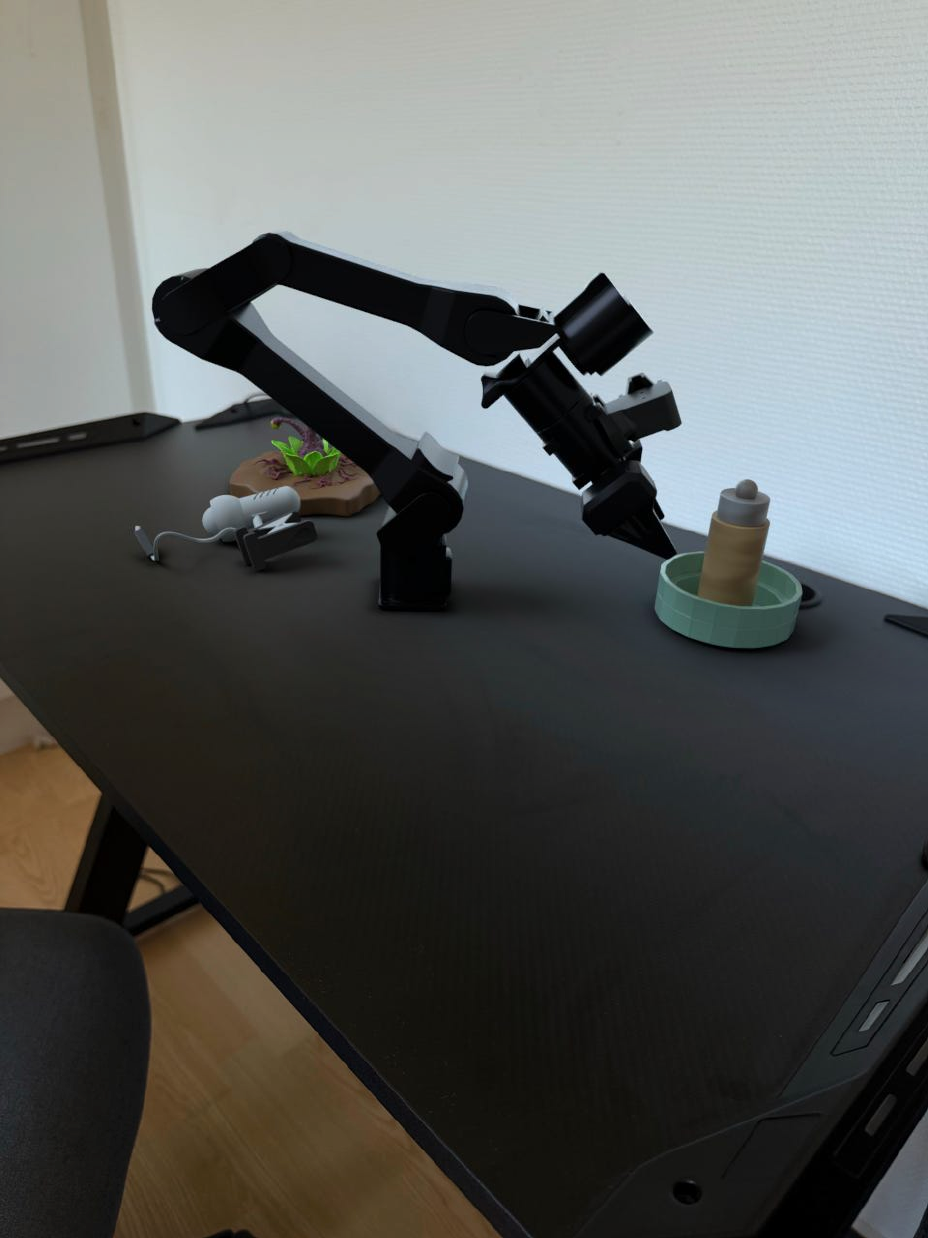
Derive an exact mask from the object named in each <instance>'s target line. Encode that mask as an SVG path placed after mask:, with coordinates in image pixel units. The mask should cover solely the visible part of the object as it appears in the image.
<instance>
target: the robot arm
mask: <svg viewBox="0 0 928 1238" xmlns="http://www.w3.org/2000/svg"><path fill="white" fill-rule="evenodd" d="M277 286H282V287H285V288H288V289H292V290H295V291H298V292H301V293H304V294H308V295H311V296H314V297H316V298H320V299H323V300H326V301H329V302H331V303H335V304H338V305H342V306H345V307H346V308H347V307H348V308H350V309H354V310H357V311H360V312H363V313H367V314H369V315H373V316H376V317H379V318H381V319H385V320H388V321H390V322H394V323H397V324H400V325H403V326H407V327H409V328H410V329H412V330H413V331H416V332H417V333H420V334H421V335H422V336H424V337H425V338H427V339H428V340H430V341H431V342H433V343H434V344H436V345H437V346H439V347H440V348H442V349H444V350H446V351H448V352H450V353H452V354H454V356H457V357H459V358H461V359H463V360H464V361H467V362H468V363H470V364H473V365H475V366H477V367H478V366H479V367H485V368H486V367H494V366H496V365H498V364H501V363H502V362H504V361H506V360H508V358H510V357H511V355H513V353H514V352H518V353H517V354H516V355H514V356H513V358H511V359H510V360H509V361H508V362H507V363H506V364H504V365H503V366H501V368H500V369H499V370H498V371H493V372H491V371H487V370H486V371H483V372H482V373H481V376H480V381H481V386H482V397H481V402H480V406H481V408H482V409H484V410H487V409H489V408H490V407H491V406H492V405H494V404H495V403H496V402H497V401H498V400H499V399H501V398H502V397H504V398H505V399H506V401H507V402H508V403H509V404H510V406H512V407H513V409H514V410H515V411H516V412H517V413H518V414H519V416H520V417H521V418H522V420H523V421H525V423H526V424H527V426H529V427H530V428H531V430H532V431H533V433H535V434H536V435H537V437H538V438H539V439H540V440H541V441H542V445H541V447H542V449H543V450H544V452H545V453H546V454H547V455H548V456H549V457H551V456H552V455H554V457H556V459H557V460H558V461H559V462H560V463H561V464H562V465H563V467H564V468H565V470H567V471H568V472H569V474H570V475H571V483H572V484H573V485H574V486H575V487H576V489H577V490H578V491H580V490H582V489H584V488H585V487H586V486H587V485H588V484H589V483H591V485H590V486H588V487H587V488H585V490H583V491H582V492H581V502H580V514H581V521H582V522H583V523H584V524H585V525H586V526H587V527H588V529H589V530H590V531H591V532H592V533H593V535H595V536H599V535H600V536H602V537H610V538H613V539H616V540H617V541H620V542H623V543H625V544H629V545H630V546H633V547H636V548H638V549H640V550H642V551H644V552H647V553H650V554H651V555H654V556H657V557H659V558H661V559H664V560H665V561H666V560H670V559H671V558H672V557H674V556H676V555H678V552H677V549H676V547H675V545H674V544H673V542H672V540H671V538H670V536H669V534H668V533H667V531H666V529H665V527H664V525H663V523H662V520H664V519H665V513H664V511H663V508H662V507H661V505H660V503H659V501H658V499H657V496H658V489H657V486H656V483H655V480H653V478H652V477H651V475H650V474H649V472H648V470H647V469H646V468H645V467H644V466H643V465H642V455H643V444H642V441H641V439H644V438H646V437H649V436H652V435H655V434H658V433H661V432H663V431H665V432H670V431H672V430H675V429H677V428H679V427H681V425H682V423H683V422H682V419H681V414H680V412H679V409H678V408H679V407H678V406H677V402H676V399H675V398H676V397H675V396H674V392H673V389H672V387H671V385H670V384H669V382H668V381H667V380H665V381H663V380H662V379H659V380H657V381H656V383H654V381H653V380H651V379H650V378H649V377H648V376H647V375H646V374H645V373H644V372H639V373H637V374H634V375H631V376H628V377H627V381H626V387H625V392H624V393H625V394H623V393H621V394H619V395H618V396H617V397H618V398H616V399H613V400H611V401H608V402H606V403H605V401H604V400H603V399H602V397H600V395H599V394H598V393H596V394H593V392H590V393H589V392H588V390H586V388H585V386H583V385H582V383H581V382H580V381H579V380H578V379H577V377H576V376H575V375H574V374H573V372H572V371H571V370H570V369H569V367H568V366H567V365H566V364H565V363H564V362H563V361H562V359H561V358H560V357H559V355H558V354H557V353H556V352H555V351H556V350H557V349H560V351H561V352H562V353H563V354H564V355H565V357H566V358H567V359H568V361H569V362H570V363H571V365H573V367H574V368H575V369H576V370H577V371H578V372H579V373H580V374H581V375H582V376H583V377H585V376H587V374H588V375H589V376H593V375H594V374H595V373H596V374H597V375H598V376H599V377H604V375H605V374H607V373H608V372H609V371H610V370H611V369H613V368H614V367H615V366H616V365H617V364H618V363H620V362H621V361H623V359H625V357H627V356H629V354H630V353H632V352H633V351H634V350H635V349H636V348H637V347H639V346H640V345H641V344H642V343H643V342H645V341H646V340H647V339H648V338H650V337H651V336H652V335H653V334H654V332H655V331H654V330H653V329H652V328H651V326H650V325H649V324H648V322H647V321H646V320H645V318H644V317H643V316H642V314H641V313H640V312H639V311H638V309H637V308H636V307H635V305H634V304H633V302H632V301H631V300H630V298H628V296H627V295H626V294H625V295H623V294H622V293H621V291H620V290H619V289H618V288H617V286H616V285H615V284H614V282H613V281H612V280H611V279H610V277H608V275H607V274H606V272H604V270H598V271H597V272H596V273H595V274H593V276H591V278H589V279H588V280H587V282H586V283H585V285H584V287H583V288H581V289H580V290H579V291H578V292H577V293H576V294H575V295H574V296H573V297H572V298H570V299H569V300H568V301H567V302H566V303H565V304H564V305H563V306H561V307H560V308H559V309H558V310H557V311H556V312H555V311H553V310H550V309H545V308H544V307H541V308H540V307H535V306H531V305H525V304H522V303H518V302H517V299H516V298H515V297H514V296H513V294H511V293H510V292H509V291H507V290H506V289H504V288H502V287H498V286H494V285H488V284H479V283H472V282H465V281H452V280H437V279H428V278H423V277H419V276H417V275H412V274H411V273H407V272H404V271H401V270H398V269H395V268H392V267H389V266H386V265H383V264H380V263H376V262H374V261H370V260H367V259H365V258H362V257H358V256H355V255H352V254H349V253H346V252H344V251H340V250H337V249H335V248H330V247H327V246H325V245H321V244H318V243H316V242H312V241H309V240H306V239H303V238H300V237H299V236H297V235H296V234H294V233H293V232H291V231H288V230H282V229H278V230H274V231H270V232H266V233H263V234H259V235H258V236H257V237H255V238H254V239H253V240H252V242H251V243H250V244H248V245H246V246H245V247H243V248H242V249H240V250H238V251H237V252H235V253H233V254H231V255H230V256H228V257H226V258H224V259H223V260H220V261H219V262H217V263H216V264H214V265H212V266H210V267H203V268H195V269H191V270H189V271H185V272H182V273H179V274H175V275H172V276H170V277H167V278H166V279H164V280H162V281H161V282H160V283H159V285H158V286H157V287H156V288H155V290H154V292H153V295H152V298H151V313H152V316H153V324H154V326H155V327H156V329H157V331H158V332H159V333H160V334H161V336H162V337H163V338H164V339H166V340H167V341H169V342H170V343H171V344H173V345H175V346H177V347H178V348H180V349H182V350H184V351H186V352H187V353H189V354H192V355H193V356H195V357H196V358H198V359H200V360H202V361H205V362H207V363H210V364H213V365H216V366H218V367H221V368H224V369H227V370H230V371H232V372H235V373H237V374H239V375H241V376H242V377H244V378H245V379H246V380H248V381H249V382H250V383H252V384H253V385H254V386H255V387H257V388H258V390H261V392H263V393H264V394H265V395H267V396H268V397H269V398H271V399H272V400H273V401H274V402H275V403H277V405H279V406H281V408H283V409H284V410H286V411H287V412H288V413H290V414H291V415H292V416H294V417H295V418H296V419H297V420H298V421H300V422H301V423H302V424H303V425H305V426H306V427H309V428H310V429H311V430H313V431H314V432H315V433H317V434H318V435H319V436H320V437H322V438H323V439H324V440H325V441H327V442H328V445H331V446H332V447H334V448H336V449H337V450H338V451H339V452H341V453H342V454H343V455H345V456H346V457H347V458H348V459H350V460H351V461H352V462H353V463H355V464H356V465H357V466H359V467H360V468H361V469H362V470H364V471H365V472H366V473H367V474H368V475H369V476H370V477H371V479H372V480H373V482H374V484H375V485H376V487H377V488H378V490H379V491H380V493H381V497H383V500H384V501H385V502H386V504H387V505H388V506H387V509H386V511H385V513H384V516H383V518H382V519H381V521H380V524H379V525H378V526H379V527H378V529H377V531H376V534H375V535H376V538H377V541H378V544H379V547H380V548H379V555H380V556H379V590H378V602H377V603H378V608H379V609H381V610H411V611H412V610H415V611H417V610H418V611H420V610H421V611H444V610H446V609H447V598H449V597H451V595H452V577H453V576H452V572H453V553H452V549H451V548H450V547H447V544H448V543H447V534H449V533H451V532H452V531H453V530H455V529H456V528H457V527H458V525H459V524H460V522H461V521H462V518H463V516H464V515H463V514H464V510H465V506H466V501H467V497H468V492H469V482H468V476H467V474H466V472H465V469H463V467H461V465H460V464H459V460H460V455H459V454H456V453H453V452H450V451H449V450H447V449H445V448H444V447H443V446H442V445H441V444H440V443H439V442H438V441H437V439H435V437H434V436H433V435H432V434H430V433H429V432H428V431H424V432H423V434H422V435H421V437H420V439H419V441H414V440H412V439H409V438H406V437H403V436H401V435H399V434H397V433H396V432H395V431H392V430H391V429H390V428H389V427H388V426H386V425H385V424H384V423H383V422H382V421H381V420H379V419H378V418H377V417H376V416H375V415H373V414H372V413H371V412H369V411H368V410H367V409H366V408H364V407H363V406H362V405H361V404H359V403H358V402H357V401H356V400H355V399H353V398H352V397H350V396H349V395H348V394H347V393H346V392H345V391H343V390H342V389H341V388H339V386H337V385H336V384H334V383H333V382H332V381H331V380H329V379H328V378H327V377H326V376H325V375H324V374H322V373H321V372H320V371H318V370H317V369H316V368H314V367H313V366H312V365H311V364H310V363H308V362H307V361H306V360H305V359H304V358H302V356H300V355H298V354H297V352H295V351H293V350H292V349H291V348H290V347H288V346H287V345H286V344H285V343H284V342H283V341H281V340H280V339H278V338H277V337H276V336H275V335H274V334H273V332H271V330H270V329H269V327H268V325H267V324H266V322H265V320H263V318H262V316H261V315H260V313H259V311H258V310H257V308H256V307H255V305H254V304H253V303H252V302H253V301H255V300H256V299H258V298H260V297H261V296H263V295H264V294H266V293H267V292H269V291H271V290H272V289H274V288H275V287H277ZM537 349H538V350H537ZM528 350H536V351H535V352H533V353H532V354H531V355H529V356H527V355H526V354H525V353H523V352H521V351H528ZM631 442H632V443H631Z"/></svg>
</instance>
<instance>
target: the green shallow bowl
mask: <svg viewBox="0 0 928 1238" xmlns="http://www.w3.org/2000/svg"><path fill="white" fill-rule="evenodd" d="M704 555H705V550H699V551H690V552H684V553H683V552H682V553H680V554H676V555H675V556H674V557H672V558H671V559H670V560H666V559H665V561H664V562H663V563H661V566H660V571H659V575H658V577H659V578H658V582H657V589H656V590H657V591H656V597H655V601H654V611H655V613H656V615H657V617H658V619H659V620H660V621H661V622H662V623H663V624H664V625H666V626H667V627H668V628H670V630H673V631H675V632H677V633H679V634H681V635H683V636H685V637H687V638H690V639H693V640H695V641H699V642H701V643H705V644H707V645H712V646H717V647H721V648H723V647H724V648H731V649H732V648H733V649H759V648H766V647H773V646H777V645H778V644H780V643H782V642H784V641H787V640H788V639H789V638H790V636H791V635H792V634H793V632H794V630H795V626H796V621H797V619H798V614H799V610H800V606H801V601H802V597H803V588H802V584H801V582H800V581H799V580H798V579H797V578H796V577H795V576H794V575H793V574H792V573H790V572H789V571H787V570H785V569H783V568H782V567H780V566H778V565H776V564H773V563H771V562H768V561H766V560H763V559H762V564H761V568H760V573H759V578H758V582H757V587H756V592H755V596H754V601H753V606H752V607H750V606H735V605H729V604H722V603H717V602H713V601H710V600H706V599H703V598H699V597H697V593H698V588H699V582H700V577H701V571H702V566H703V560H704Z"/></svg>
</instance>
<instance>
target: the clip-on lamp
mask: <svg viewBox="0 0 928 1238" xmlns="http://www.w3.org/2000/svg"><path fill="white" fill-rule="evenodd" d="M209 504H210V507H208V508H207V509H206V510H205V511H204V513H203V515H202V525H203V528H204V530H205V531H206V532H207V533H208V534H210V535H212V537H208V538H196V537H193V536H188V535H185V534H183V533H179V532H175V531H163V532H160V533H158V535H156V537H155V538H154V541H153V542H152V540H151V538H150V537H149V535H148V533H147V531H146V530H145V528H143V527H141V526H139V525H135V526H134V527H135V528H134V529H135V530H134V531H133V534H134V537H135V538H136V540H137V542H138V544H139V545H140V547H141V549H142V551H143V553H144V555H145V556H146V558H147V559H148V560H152V561H154V562H158V561H159V560H160V557H159V549H158V543H159V540H160V539H161V538H163V537H165V536H167V537H169V536H171V537H174V538H177V539H181V540H184V541H187V542H191V543H197V544H211V543H214V542H218V541H219V540H220V539H221V541H222V542H223V543H231V542H236V543H237V546H238V549H239V551H240V555H241V558H242V560H243V563H244V564H245V565H246V566H248V565H251V566H252V568H253V570H254V571H255V572H258V571H261V570H263V569H265V568H266V566H267V563H266V560H267V561H268V560H269V559H272V558H275V557H278V556H280V555H283V554H285V553H288V552H290V551H294V550H296V549H299V548H301V547H304V546H307V545H309V544H310V545H311V544H312V543H314V542H316V541H317V538H318V533H317V530H316V526H315V523H314V522H313V521H312V520H311V519H305V520H304V519H303V520H302V518H301V516H300V515H299V513H298V511H299V509H300V498H299V495H298V493H297V492H296V491H295V490H294V489H292V488H291V487H288V486H284V487H280V488H276V489H273V490H269V491H265V492H261V493H258V494H254V495H250V496H246V497H243V498H237V497H235V496H231V495H230V494H222V495H218V496H216V497H214V498H211V500H209Z"/></svg>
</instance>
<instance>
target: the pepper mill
mask: <svg viewBox="0 0 928 1238" xmlns="http://www.w3.org/2000/svg"><path fill="white" fill-rule="evenodd" d="M770 504H771V497H770V496H769V495H768V494H766V493H764V492H762V491H759V488H758V485H757V483H756V482H755V481H754V480H752V479H749V478H744V479H741V480H739V482H738V483H737V484H736V485H735V487H729V488H724V489H722V490H721V491H720V492H719V498H718V503H717V509H716V510H715V511H713V512H712V513H711V517H710V522H709V527H708V533H707V538H706V545H705V549H704V551H705V555H704V560H703V566H702V571H701V577H700V582H699V588H698V593H697V597H699V598H703V599H706V600H710V601H713V602H717V603H722V604H729V605H735V606H750V607H752V606H753V601H754V596H755V592H756V587H757V582H758V578H759V573H760V568H761V564H762V560H763V559H764V554H765V549H766V544H767V539H768V534H769V530H770V526H771V522H770V520H769V519H768V514H769V508H770Z"/></svg>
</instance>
